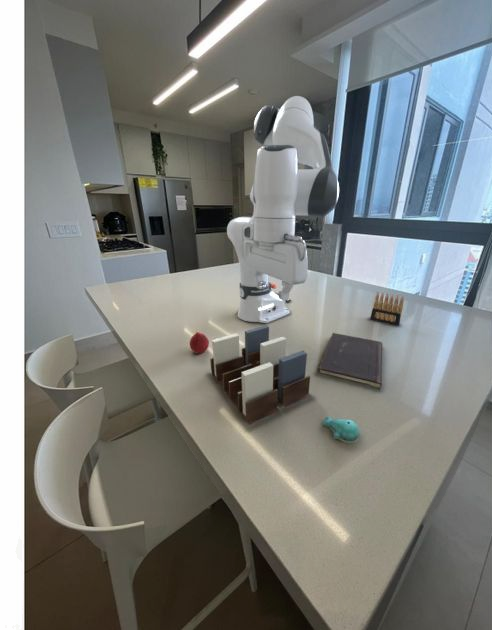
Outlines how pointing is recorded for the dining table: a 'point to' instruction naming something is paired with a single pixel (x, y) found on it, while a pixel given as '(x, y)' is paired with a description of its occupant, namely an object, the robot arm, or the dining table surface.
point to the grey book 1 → (255, 339)
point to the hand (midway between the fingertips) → (271, 293)
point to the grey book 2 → (291, 369)
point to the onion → (199, 342)
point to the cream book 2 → (256, 382)
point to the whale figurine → (343, 429)
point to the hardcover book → (354, 359)
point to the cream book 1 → (225, 349)
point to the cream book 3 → (272, 351)
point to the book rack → (262, 405)
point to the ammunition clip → (387, 310)
